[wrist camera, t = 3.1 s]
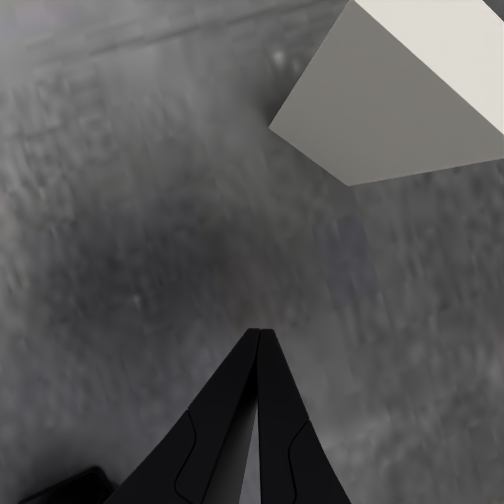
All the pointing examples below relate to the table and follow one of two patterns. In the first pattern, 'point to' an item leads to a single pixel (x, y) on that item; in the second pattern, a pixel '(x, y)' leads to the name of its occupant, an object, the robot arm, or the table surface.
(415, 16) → the tile
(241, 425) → the robot arm
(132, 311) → the table surface
